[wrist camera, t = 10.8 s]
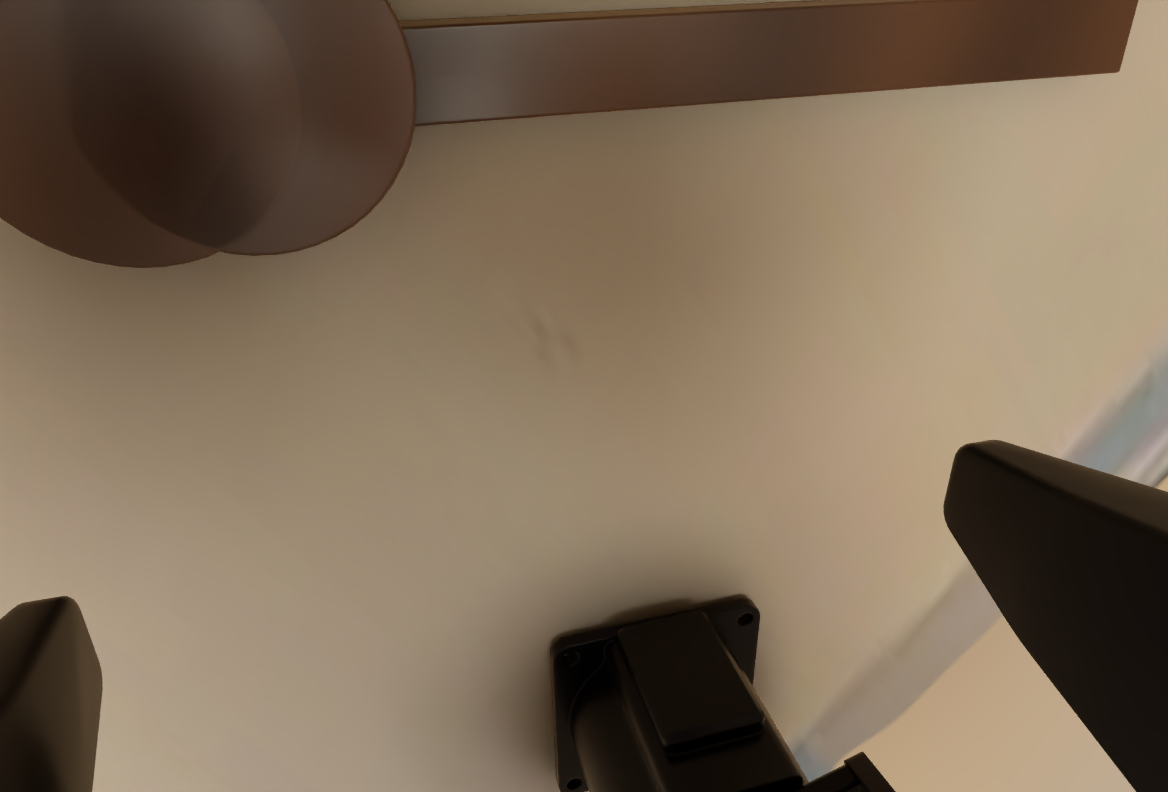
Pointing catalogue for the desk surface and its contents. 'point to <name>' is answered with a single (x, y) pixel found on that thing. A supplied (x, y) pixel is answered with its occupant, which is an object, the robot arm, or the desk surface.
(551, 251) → the desk surface
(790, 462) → the desk surface
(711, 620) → the robot arm
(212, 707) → the desk surface
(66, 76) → the wooden spoon
